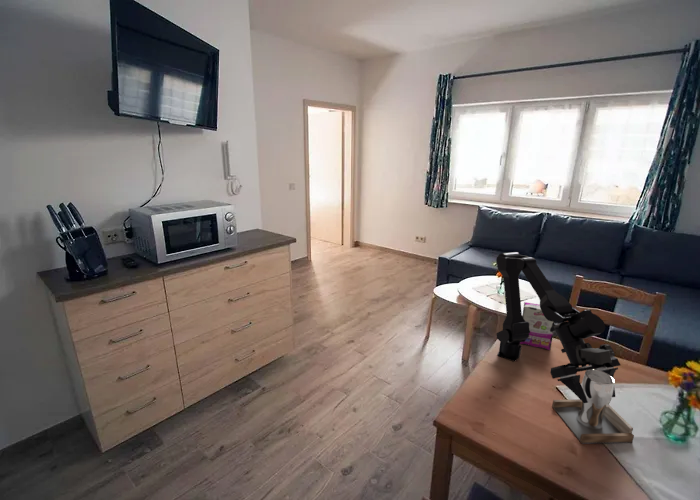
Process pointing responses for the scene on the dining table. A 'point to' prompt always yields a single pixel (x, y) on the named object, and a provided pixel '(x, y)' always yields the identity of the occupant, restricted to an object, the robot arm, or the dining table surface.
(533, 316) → the candy bar box
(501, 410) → the dining table surface
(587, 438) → the wooden tray
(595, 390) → the silver metal cup
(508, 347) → the robot arm
